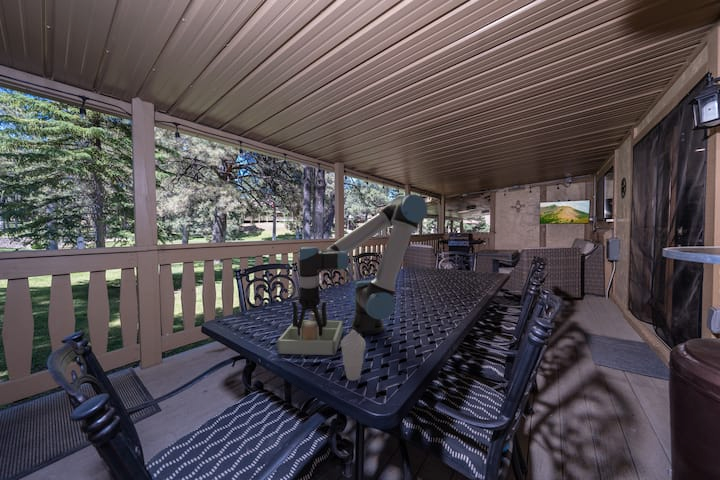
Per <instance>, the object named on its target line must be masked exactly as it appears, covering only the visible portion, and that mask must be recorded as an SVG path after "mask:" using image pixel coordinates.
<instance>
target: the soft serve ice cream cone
mask: <svg viewBox="0 0 720 480" xmlns="http://www.w3.org/2000/svg"><path fill="white" fill-rule="evenodd" d="M342 338H343V339H340V343H339V346H340V347H341V353H342V364H343V366H344V371H345V376H346V379H347V380H348V381H352V382H354V381H358V380H360V378H361V372H362V367H363V363H364V353H365V350H366V346H367V343H366V340H365V339H364V337H363V336H361V335H360V334H359V332H357V331H355V330H353V329H351V330H350V332H349V333H348V334H346V335H345V336H344V337H342Z"/></svg>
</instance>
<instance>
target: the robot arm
mask: <svg viewBox="0 0 720 480" xmlns="http://www.w3.org/2000/svg"><path fill="white" fill-rule="evenodd" d="M427 214H428V204H427V202H426V200H425V199H424V198H423V197H422V196H421V195H419V194H414V193H413V194H410V193H409V194H406V195H403V196H398V197H396V198H394V199H392V200H391V201H390V202H388V203H387V204H385V205H384V206H383V207H382V208H380V209H379V210H378V211H377V214H376V215H374V216H372V217H370V218H369V219H368V220H366V221H365V222H363V223H362V224H361V225H359V226H358V227H356V228H355V229H353V230H352V231H350V232H348V233H347V234H346V235H344V236H343V237H341V238H340V239H338V240H337V241H336V242H334V243H332V244H331V245H329V246H328V247H324V248H323V249H322V250H321V251H319V248H318V247H317V246H302V247H300V248H299V250H298V251H299V252H298V267H299V268H298V272H299V286H300V287H299V298H298V299H297V300H296V299H294V300H293V301H292V302H291V304H292V309H293V310H292V323H293V326H296V327H297V328H298V335H299V336H300V340H303V333H302V323H303V320H304V319H305V316H306V312H307V311H308V310H309V311H311V312H312V311H313V313H314V315H315V318H316V321H317V324H318V327H317V340H320V336H322V333H323V331H322V327H325V326H326V325H327V321H328V318H327V316H328V315H327V304H328V302H327V300H322V299H321V298H320V286H319V285H320V281H319V279H320V278H319V277H320V275H319V273H320V271H321V272H322V271H342V270H347V269H348V268H349V264H350V263H349V262H350V260H349V259H350V256H349V254H350V253H351V252H353V251H354V250H356V249H357V248H358V247H361V246H362V245H363V244H364V243H366V242H367V241H369V240H370V239H372V238H373V237H375V236H376V235H377V234H379V233H381V231H383V230H385V229H386V228H389V229H391V230H390V233H389V236H388V239H387V242H386V245H385V247H384V251H383V254H382V256H381V259H380V262H379V266H378V268H377V271H376V274H375V276H374V279H370V280H368V279H367V280H359V281H356V282H355V284H354V310H355V311H354V314H353V315H354V316H353V319H352V320H351V321H352V322H351V330H355V331H356V332H357V333H361V335H364V336H365V335H366V336H371V335H377V334H380V333H381V332H383V331H384V322H383V320H385V319H387V318H389V317H390V316H391V315H392V314H393V312H394V310H395V308H396V301H395V298H394V297H395V294H396V291H397V290H396V287H395V283H396V280H397V276H398V275H399V271H400V268H401V265H402V262H403V259H404V256H405V253H406V250H407V249H408V245H409V242H410V239H411V236H412V234H413V233H414V232H416V231H417V230H418V226H419V224H420V222H422V221H424V220H425V219H426V217H427ZM319 304H320V306H321V311H322V321H323V323H322V321H321V318H320V315H319V312H318V311H319V309H318V305H319ZM299 306H301V307H302V308H301V313H300V316H299ZM298 317H299V318H298ZM298 320H299V322H298Z"/></svg>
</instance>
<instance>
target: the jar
mask: <svg viewBox="0 0 720 480" xmlns="http://www.w3.org/2000/svg"><path fill="white" fill-rule="evenodd" d="M317 327H318V324H317V323H316V322H315V321H307V322H305V323H303V325H302V333H303V340H317Z"/></svg>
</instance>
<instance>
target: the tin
mask: <svg viewBox="0 0 720 480" xmlns="http://www.w3.org/2000/svg"><path fill="white" fill-rule="evenodd" d="M318 312H319V315H320V318H321V321H322V310H321V311H320V310H318ZM308 320H309V321H315V322H316V323H317V321H316V318H315V315H314V313H313V311H312V310H311V311H309V313H308ZM322 323H323V321H322ZM322 328H323V327H322Z"/></svg>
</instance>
